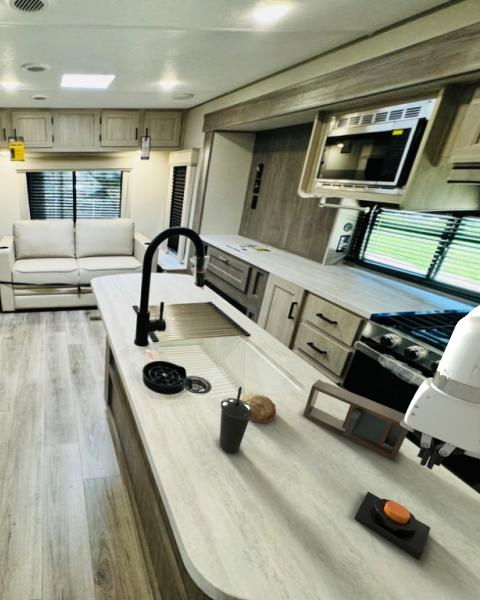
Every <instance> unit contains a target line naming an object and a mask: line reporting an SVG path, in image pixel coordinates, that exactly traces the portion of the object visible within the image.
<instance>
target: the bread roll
mask: <svg viewBox="0 0 480 600" xmlns="http://www.w3.org/2000/svg"><path fill="white" fill-rule="evenodd" d="M240 400H242V401H244V402H246V403H247V404H248V405H249V406H250V407H251V408H252V410H253V414H252V416H251V417H250V419H249V420H251V421H252V422H256V423H263V424H264V423H268V422H272V421H273V419H275V417H276V415H277V408H276V404H275V403H274V402H273V400H271V399H270V398H269V397H268V396H265V395H264V394H258V393H255V392H247V393H245V394H244V395H243V396H242V397H241V398H240Z"/></svg>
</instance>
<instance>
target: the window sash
mask: <svg viewBox="0 0 480 600" xmlns="http://www.w3.org/2000/svg"><path fill="white" fill-rule="evenodd" d="M343 421H344V423H343V426H342V427H343V428H345V432H344V435H346V436H348V437H350V436H351V435H352V433H353V432H354V433H356V434H358V435H360V436H362V437H364V438H366V439H368V440H370V441H372V442H374V443H377V444H378V445H380V446H383V444H384V442H385V440H386V437H387V435H388V433H389V431H390V428H391V426H392V424H393V423H392V422H389V421H387V420H385V419H382V418H380V417H378V416H375V415H373V414H371V413H368V412H366V411H364V410H361V409H359V408H357V407H354V406H352V405H350V404H349V406H348V410H347V412H346V415H345V418H344V420H343Z"/></svg>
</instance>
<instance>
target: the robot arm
mask: <svg viewBox="0 0 480 600" xmlns="http://www.w3.org/2000/svg"><path fill="white" fill-rule="evenodd" d="M405 414H406V415H405V417H404V418H403V419H402V420H401V422H400V425H401V426H402V427H404V428H406V429H407V430H409V431H408V432H411V433H413V435H414V436H415V437H416V438H417V440H418V441H419V442H420V449H419V452H418V454H417V455H416V457H417V458H420V459H421V460H420V462H419V465H420V466H423V467H426V468H427V469H428V470H432V469H433V468H434V466H436V467H441V464H442V462H443V460H444V459H445V457H448V456H451V455H452V456H453V455H466V456H469V457H472V458H476V459H479V460H480V305H479V306H477V307H475V308H474V309H473V310H471V311H470V312H469V313H468V314H467V315H466V316H465V317H462V319H460V320H459V321H457V324H456V325H455V327H454V329H453V332H452V334H451V337H450V339H449V341H448V343H447V346H446V348H445V349H444V352H443V354H442V356H441V359H440V361H439V364H438V366H437V368H436V371H435V372H434V374H433V377H426V379H424V381H423V382H422V383H421V385H420V386H419V387H418V389H417V390H416V392H415V393H414V396H413V398H412V399H411V401H410V403H409V405H408V408H407V410H406V413H405ZM434 438H435V439H437V440H440V441H442V443H440V444H437V445H435V442H434V440H433V439H434Z"/></svg>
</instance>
